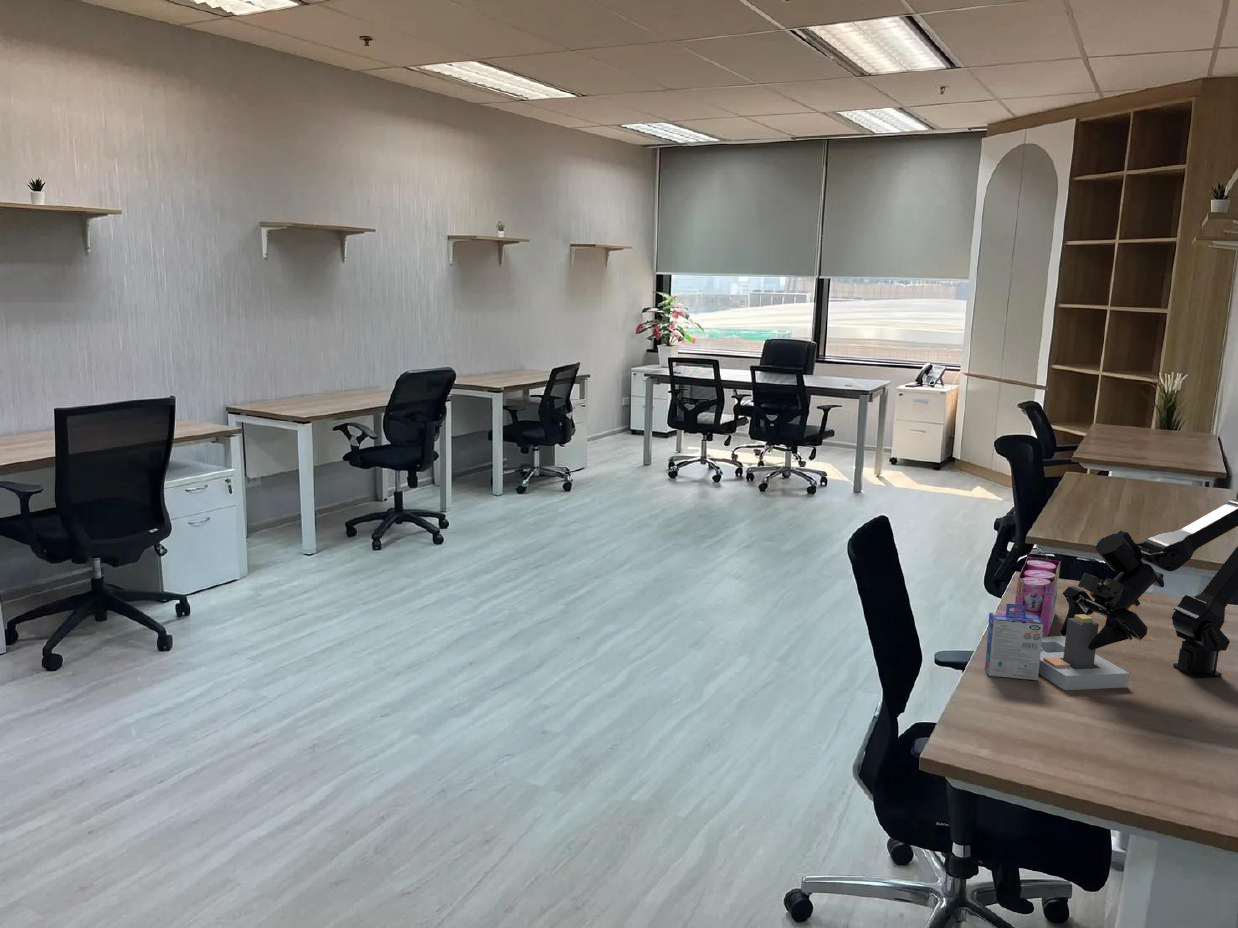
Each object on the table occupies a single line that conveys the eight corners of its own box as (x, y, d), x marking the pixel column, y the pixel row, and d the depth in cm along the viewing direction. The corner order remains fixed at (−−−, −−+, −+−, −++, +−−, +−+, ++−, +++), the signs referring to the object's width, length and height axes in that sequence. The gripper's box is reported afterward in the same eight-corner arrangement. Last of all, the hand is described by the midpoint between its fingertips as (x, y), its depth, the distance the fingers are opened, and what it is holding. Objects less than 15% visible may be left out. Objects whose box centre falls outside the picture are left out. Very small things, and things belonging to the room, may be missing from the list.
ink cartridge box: (1032, 671, 193) (1040, 604, 190) (1039, 681, 187) (1047, 613, 185) (982, 666, 195) (989, 600, 192) (987, 676, 189) (994, 608, 187)
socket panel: (1061, 648, 206) (1063, 633, 205) (1127, 687, 186) (1129, 670, 185) (1004, 651, 204) (1005, 635, 203) (1064, 690, 183) (1066, 673, 183)
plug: (1078, 672, 193) (1085, 612, 190) (1091, 680, 189) (1099, 619, 186) (1061, 673, 192) (1068, 613, 189) (1074, 681, 188) (1082, 620, 186)
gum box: (1047, 642, 210) (1053, 584, 208) (1009, 635, 214) (1015, 579, 211) (1055, 613, 231) (1061, 560, 228) (1021, 607, 234) (1026, 555, 232)
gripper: (1075, 548, 196) (1024, 601, 195) (1142, 574, 178) (1086, 632, 177) (1103, 583, 199) (1052, 634, 198) (1171, 611, 181) (1116, 668, 180)
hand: (1075, 641), depth 189 cm, fingers open, 8 cm apart
